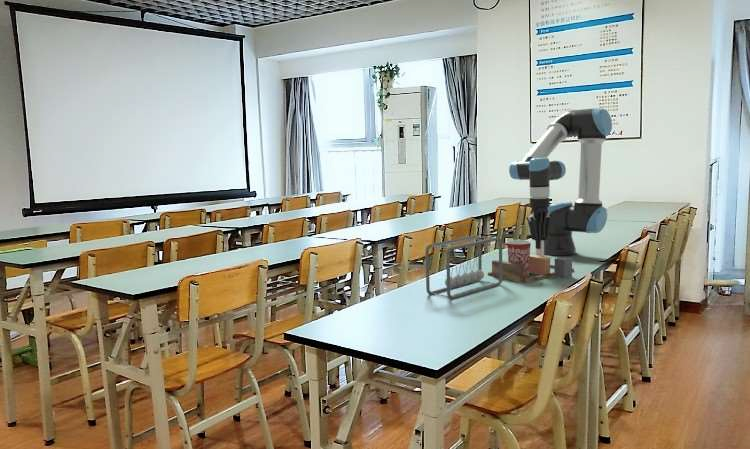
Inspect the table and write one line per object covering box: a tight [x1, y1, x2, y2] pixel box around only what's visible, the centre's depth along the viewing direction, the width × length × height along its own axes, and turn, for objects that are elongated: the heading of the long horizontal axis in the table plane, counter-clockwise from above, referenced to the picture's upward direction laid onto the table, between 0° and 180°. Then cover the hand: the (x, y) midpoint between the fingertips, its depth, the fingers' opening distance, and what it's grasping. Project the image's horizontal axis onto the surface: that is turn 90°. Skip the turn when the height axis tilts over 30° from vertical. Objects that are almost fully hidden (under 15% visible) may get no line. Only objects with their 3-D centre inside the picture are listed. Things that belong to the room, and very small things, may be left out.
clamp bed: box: [487, 259, 575, 284], centre depth 233 cm, size 29×18×6 cm, turn 125°
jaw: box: [529, 253, 552, 276], centre depth 234 cm, size 3×14×7 cm, turn 35°
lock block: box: [554, 257, 573, 280], centre depth 225 cm, size 4×4×7 cm
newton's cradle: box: [425, 234, 503, 300], centre depth 209 cm, size 30×10×18 cm, turn 132°
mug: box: [506, 239, 532, 279], centre depth 229 cm, size 13×9×14 cm
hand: (540, 256), depth 236 cm, fingers closed
